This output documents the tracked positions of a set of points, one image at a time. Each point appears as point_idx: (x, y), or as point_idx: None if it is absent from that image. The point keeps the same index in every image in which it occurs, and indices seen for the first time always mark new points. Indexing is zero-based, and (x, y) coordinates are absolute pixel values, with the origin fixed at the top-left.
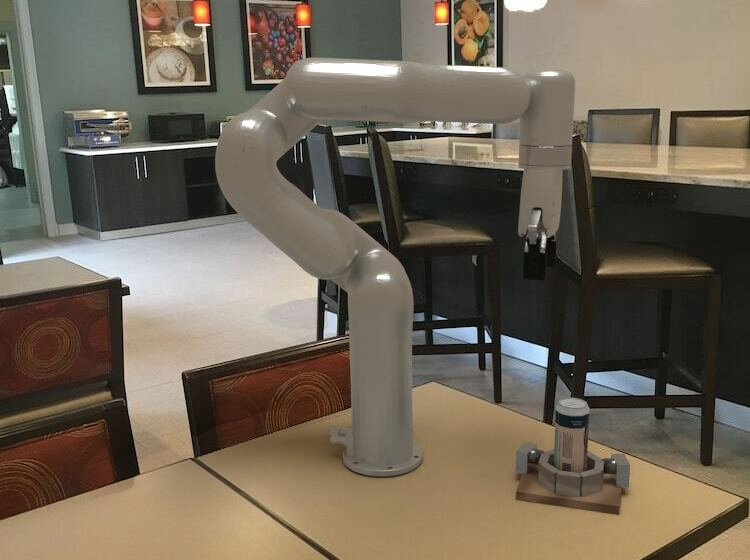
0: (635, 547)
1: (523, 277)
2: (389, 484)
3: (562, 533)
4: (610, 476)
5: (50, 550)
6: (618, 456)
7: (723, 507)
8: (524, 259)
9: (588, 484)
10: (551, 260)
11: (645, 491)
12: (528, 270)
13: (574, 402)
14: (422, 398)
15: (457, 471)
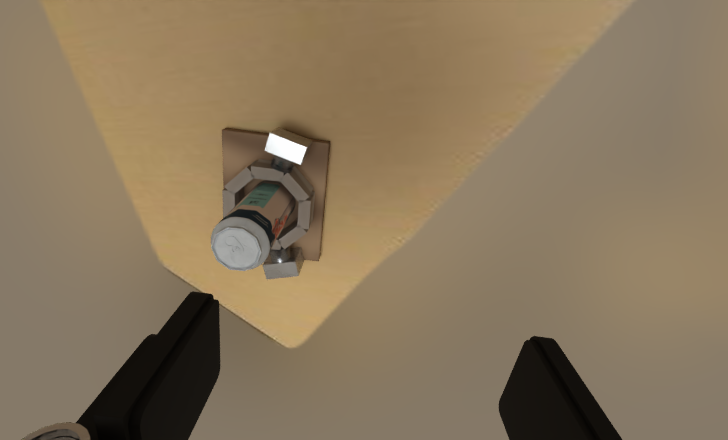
0: (167, 254)
1: (190, 293)
2: None
3: (165, 184)
4: (298, 246)
5: None
6: (288, 268)
7: (277, 338)
8: (131, 371)
9: None
10: (511, 425)
11: None
12: (139, 345)
13: (239, 252)
14: None
15: (286, 31)
